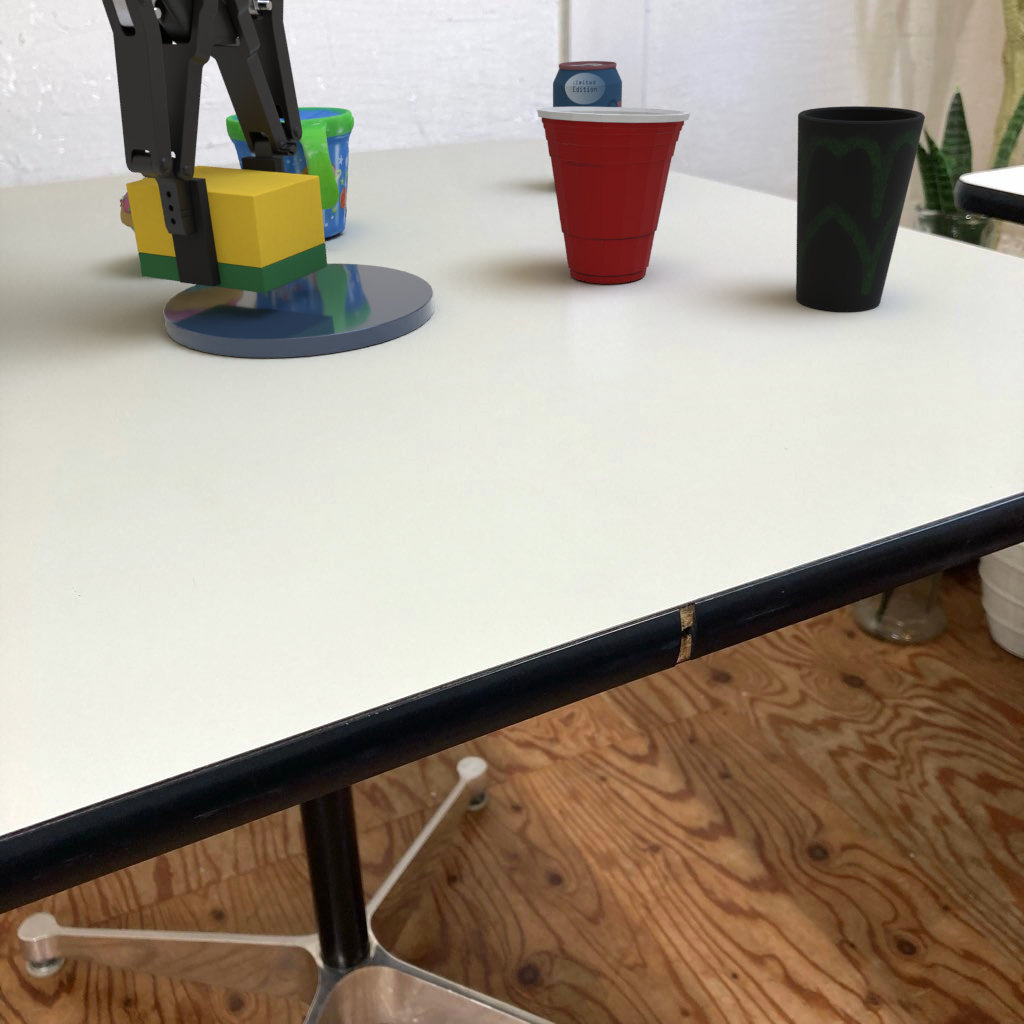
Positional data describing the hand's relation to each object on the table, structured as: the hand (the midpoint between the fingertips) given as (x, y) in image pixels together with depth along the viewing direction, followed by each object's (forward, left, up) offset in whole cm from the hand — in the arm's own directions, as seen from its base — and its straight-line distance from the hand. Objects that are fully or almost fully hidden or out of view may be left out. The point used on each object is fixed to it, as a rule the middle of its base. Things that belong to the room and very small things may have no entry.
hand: (238, 267), depth 70 cm
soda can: (+6, +50, -3) cm, 50 cm away
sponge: (0, 0, 0) cm, 0 cm away
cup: (+37, +18, -3) cm, 41 cm away
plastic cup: (+20, +19, -3) cm, 27 cm away
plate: (+4, +2, -3) cm, 5 cm away
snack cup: (-10, +22, -3) cm, 24 cm away
